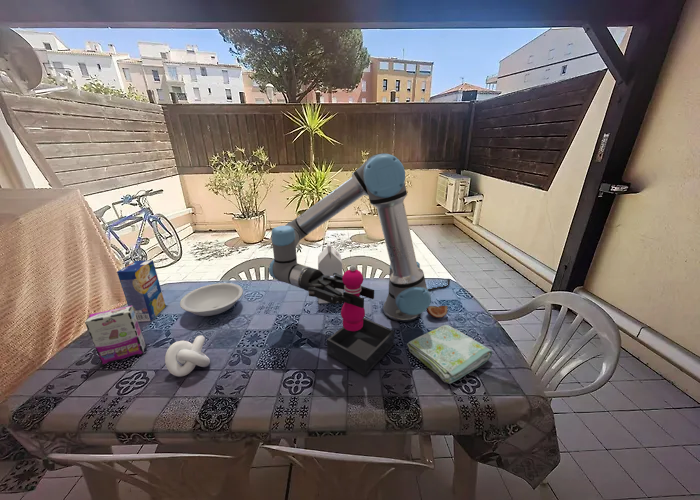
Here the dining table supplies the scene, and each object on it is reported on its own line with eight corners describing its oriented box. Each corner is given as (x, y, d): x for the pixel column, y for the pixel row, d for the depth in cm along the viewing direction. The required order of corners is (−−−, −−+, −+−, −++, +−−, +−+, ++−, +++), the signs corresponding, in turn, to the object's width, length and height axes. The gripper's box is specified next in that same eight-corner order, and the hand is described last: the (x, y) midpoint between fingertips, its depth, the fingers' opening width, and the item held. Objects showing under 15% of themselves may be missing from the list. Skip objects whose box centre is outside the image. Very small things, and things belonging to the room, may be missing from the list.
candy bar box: (146, 344, 95) (133, 304, 90) (143, 353, 91) (130, 312, 86) (105, 355, 91) (89, 313, 85) (101, 365, 86) (83, 321, 81)
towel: (404, 350, 92) (405, 338, 90) (447, 330, 102) (449, 319, 100) (446, 389, 77) (449, 375, 76) (492, 361, 87) (495, 348, 86)
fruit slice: (443, 311, 114) (444, 301, 113) (449, 321, 108) (451, 310, 106) (423, 312, 114) (424, 302, 112) (428, 321, 108) (430, 311, 106)
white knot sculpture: (183, 353, 91) (177, 331, 88) (220, 351, 92) (215, 329, 89) (164, 379, 81) (156, 355, 78) (205, 377, 81) (199, 353, 78)
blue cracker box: (165, 306, 119) (153, 260, 111) (151, 320, 109) (136, 271, 101) (149, 307, 118) (135, 260, 111) (133, 322, 108) (116, 272, 100)
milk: (318, 290, 132) (315, 239, 123) (341, 289, 133) (341, 238, 124) (318, 303, 121) (315, 248, 112) (344, 301, 122) (343, 247, 113)
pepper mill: (362, 333, 79) (363, 271, 72) (338, 331, 80) (337, 269, 73) (366, 319, 86) (367, 261, 79) (343, 317, 87) (343, 259, 80)
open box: (358, 328, 104) (358, 315, 102) (394, 345, 95) (394, 330, 93) (327, 354, 91) (326, 339, 89) (365, 376, 82) (365, 360, 80)
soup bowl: (251, 313, 114) (249, 299, 111) (186, 333, 101) (182, 318, 99) (237, 290, 132) (235, 278, 130) (181, 305, 120) (177, 292, 117)
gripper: (325, 278, 97) (383, 297, 85) (288, 300, 83) (350, 326, 71) (324, 259, 94) (383, 275, 82) (285, 278, 80) (350, 301, 68)
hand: (368, 298), depth 76 cm, fingers closed on pepper mill, 5 cm apart
